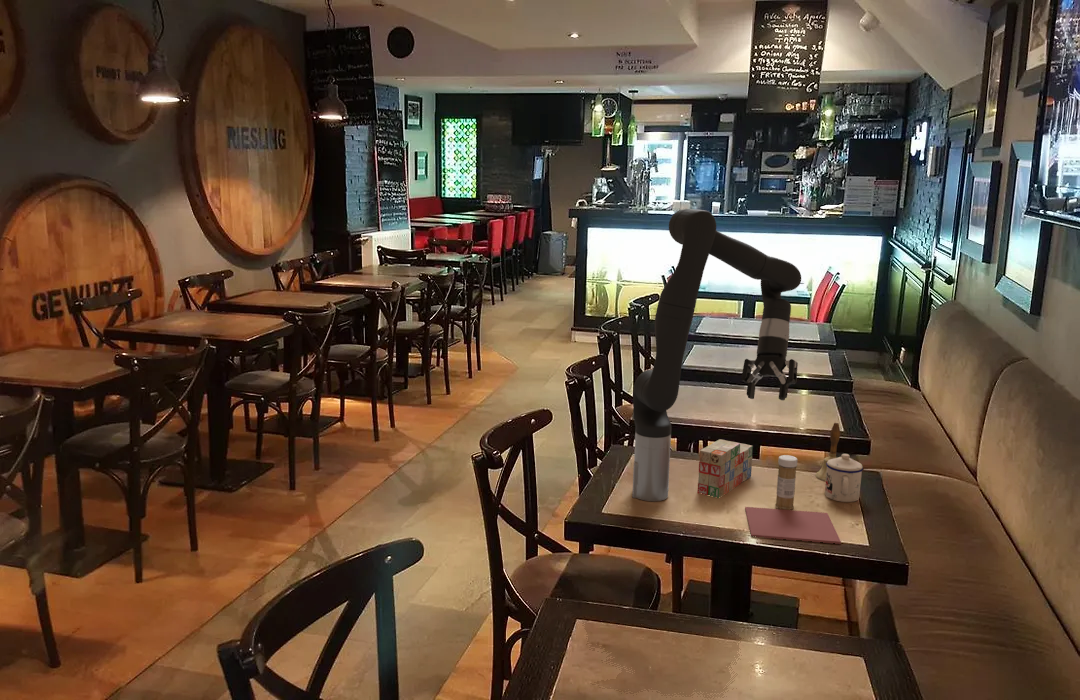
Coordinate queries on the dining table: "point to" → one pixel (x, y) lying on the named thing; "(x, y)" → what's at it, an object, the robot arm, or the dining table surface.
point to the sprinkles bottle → (786, 482)
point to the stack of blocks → (723, 467)
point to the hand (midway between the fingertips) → (766, 399)
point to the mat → (791, 525)
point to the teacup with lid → (843, 479)
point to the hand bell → (834, 440)
